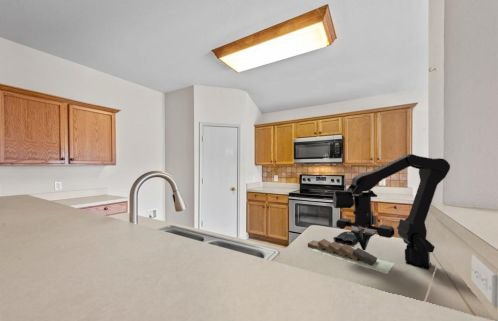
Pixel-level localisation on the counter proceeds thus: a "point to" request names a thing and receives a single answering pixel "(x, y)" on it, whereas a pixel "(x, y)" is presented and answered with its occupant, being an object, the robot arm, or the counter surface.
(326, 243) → the domino
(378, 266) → the runner mat
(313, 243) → the domino
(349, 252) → the brown wooden block
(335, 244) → the domino
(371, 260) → the tile
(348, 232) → the electronic device
